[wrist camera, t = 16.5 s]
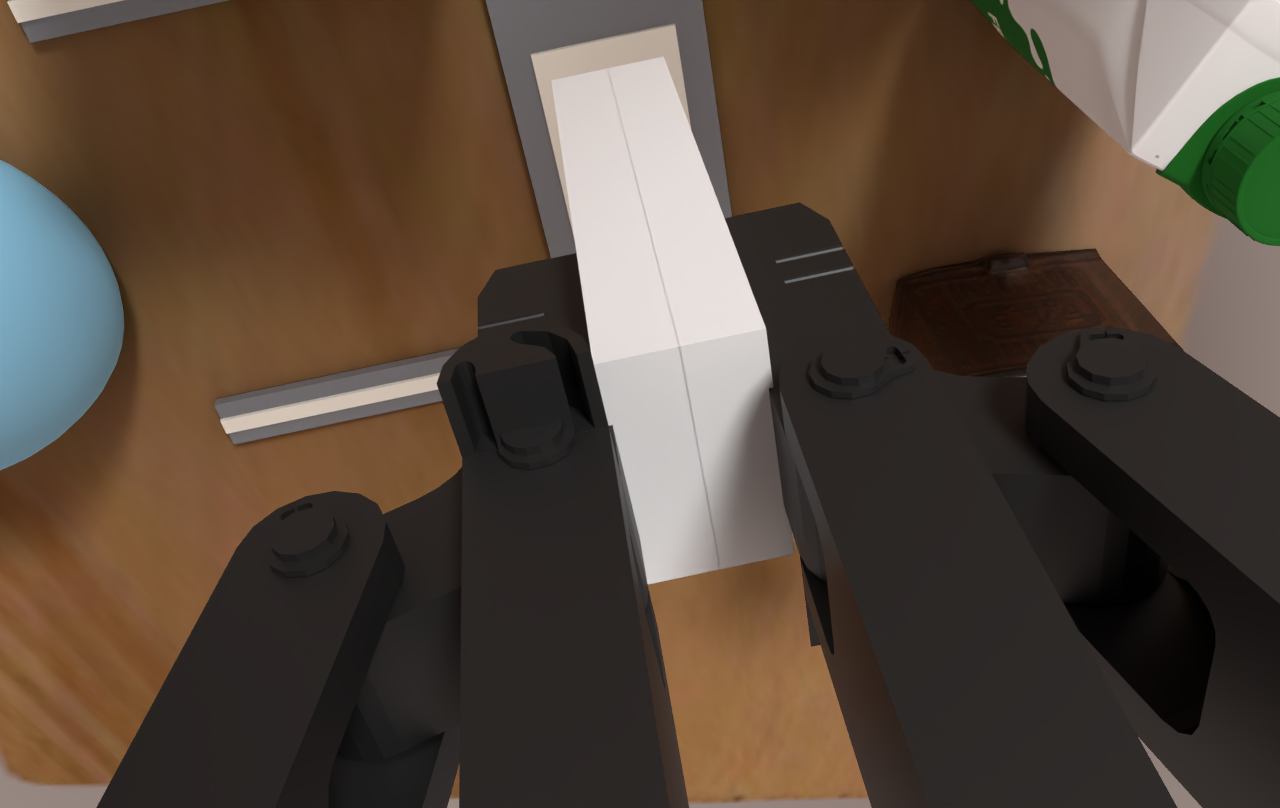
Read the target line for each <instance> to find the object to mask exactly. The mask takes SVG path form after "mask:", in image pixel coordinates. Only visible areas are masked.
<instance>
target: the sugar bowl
mask: <svg viewBox="0 0 1280 808" xmlns="http://www.w3.org/2000/svg"><path fill="white" fill-rule="evenodd" d="M123 335H124V311H123V305H122V300H121V295H120V291H119V286H118V283H117V280H116V278H115V275H114V272H113V269H112V267H111V265H110V263H109V261H108V259H107V257H106V255H105V253H104V251H103V249H102V247H101V246H100V245H99V243H98V242H97V240H96V239H95V237H94V236H93V235H92V233H91V232H90V230H89V229H88V228H87V227H86V225H85V224H84V223H83V222H82V221H81V220H80V219H79V217H78V216H77V215H76V214H75V213H74V212H73V211H72V210H71V209H70V208H69V207H68V206H67V205H66V204H65V203H64V202H62V201H61V200H60V199H59V198H58V197H57V196H56V195H55V194H54V193H52V192H51V191H49V190H48V189H47V188H45V187H44V186H43V185H41V184H40V183H39V182H37V181H36V180H35V179H33V178H32V177H30V176H28V175H27V174H25V173H23V172H22V171H20V170H18V169H17V168H15V167H13V166H12V165H10V164H8V163H6V162H4V161H2V160H0V470H2V469H5V468H7V467H9V466H12V465H14V464H16V463H18V462H20V461H22V460H25V459H27V458H29V457H30V456H32V455H34V454H35V453H37V452H38V451H40V450H41V449H43V448H45V447H46V446H48V445H49V444H51V443H52V442H54V441H55V440H56V439H58V438H59V437H60V436H61V435H62V434H63V433H65V432H66V431H67V430H68V429H69V428H70V427H71V426H72V425H73V424H74V423H75V422H77V421H78V420H79V419H80V418H81V417H82V416H83V415H84V414H85V412H86V411H87V410H88V409H89V408H90V407H91V405H92V404H93V403H94V401H95V400H96V399H97V398H98V396H99V395H100V394H101V392H102V391H103V389H104V387H105V385H106V383H107V381H108V380H109V378H110V376H111V374H112V372H113V370H114V368H115V366H116V364H117V361H118V358H119V355H120V351H121V348H122V343H123Z"/></svg>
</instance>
